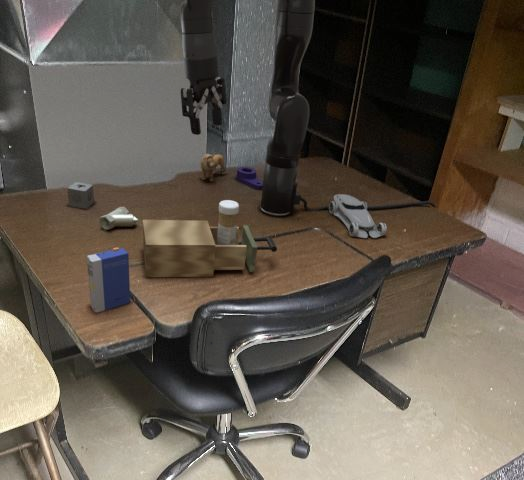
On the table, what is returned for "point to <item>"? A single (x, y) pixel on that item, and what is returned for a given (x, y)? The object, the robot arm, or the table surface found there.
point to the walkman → (108, 279)
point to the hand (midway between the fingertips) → (207, 129)
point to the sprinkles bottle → (227, 222)
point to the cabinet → (178, 248)
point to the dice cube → (80, 195)
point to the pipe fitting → (118, 219)
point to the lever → (249, 177)
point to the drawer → (239, 251)
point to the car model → (356, 217)
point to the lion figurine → (211, 165)
